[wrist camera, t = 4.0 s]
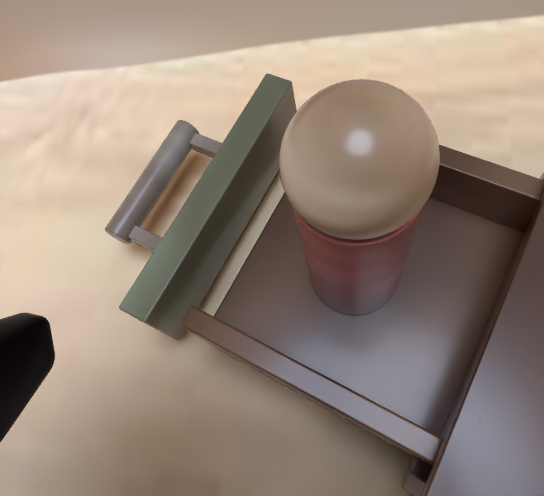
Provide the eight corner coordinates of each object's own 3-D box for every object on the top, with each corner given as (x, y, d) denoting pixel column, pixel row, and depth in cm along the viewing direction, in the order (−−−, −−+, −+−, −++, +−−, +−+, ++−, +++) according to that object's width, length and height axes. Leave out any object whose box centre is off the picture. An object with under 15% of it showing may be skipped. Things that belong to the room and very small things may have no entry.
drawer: (88, 290, 21) (39, 263, 18) (212, 100, 24) (190, 47, 21) (441, 489, 16) (463, 502, 13) (545, 222, 19) (586, 178, 16)
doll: (325, 330, 18) (298, 221, 9) (296, 246, 19) (247, 76, 10) (416, 300, 18) (488, 157, 9) (381, 218, 19) (410, 19, 10)
